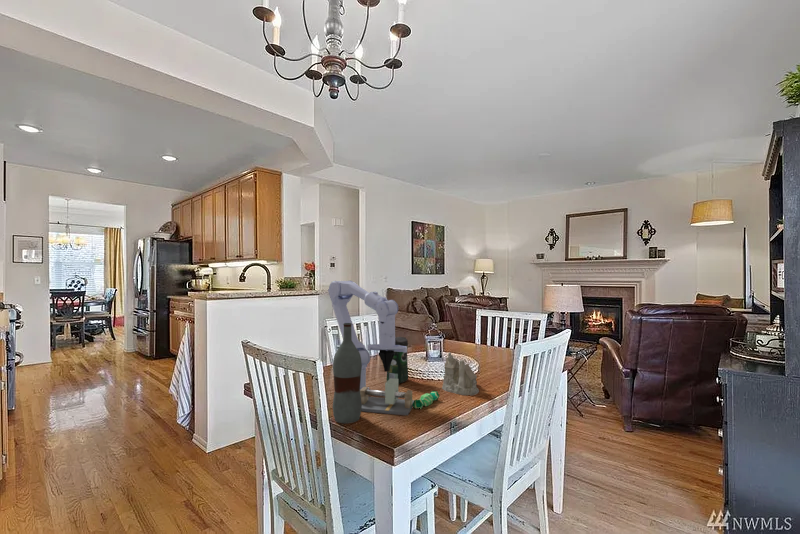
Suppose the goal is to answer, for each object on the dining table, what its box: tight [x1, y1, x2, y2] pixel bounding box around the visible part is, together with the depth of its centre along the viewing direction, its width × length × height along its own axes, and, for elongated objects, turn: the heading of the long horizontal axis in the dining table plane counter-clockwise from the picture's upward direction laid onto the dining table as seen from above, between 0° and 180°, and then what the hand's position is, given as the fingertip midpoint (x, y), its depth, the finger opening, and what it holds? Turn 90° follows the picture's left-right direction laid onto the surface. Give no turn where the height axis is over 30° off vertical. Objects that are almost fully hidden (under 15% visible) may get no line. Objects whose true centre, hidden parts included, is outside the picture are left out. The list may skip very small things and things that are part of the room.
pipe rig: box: [360, 386, 415, 416], centre depth 130 cm, size 18×12×6 cm, turn 76°
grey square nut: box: [384, 378, 399, 404], centre depth 130 cm, size 3×6×7 cm, turn 166°
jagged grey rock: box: [441, 351, 480, 397], centre depth 152 cm, size 16×16×15 cm
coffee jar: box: [386, 336, 409, 384], centre depth 161 cm, size 10×8×19 cm
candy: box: [413, 390, 440, 410], centre depth 133 cm, size 12×3×4 cm
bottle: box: [332, 323, 362, 424], centre depth 120 cm, size 9×9×30 cm
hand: (387, 371), depth 138 cm, fingers closed
